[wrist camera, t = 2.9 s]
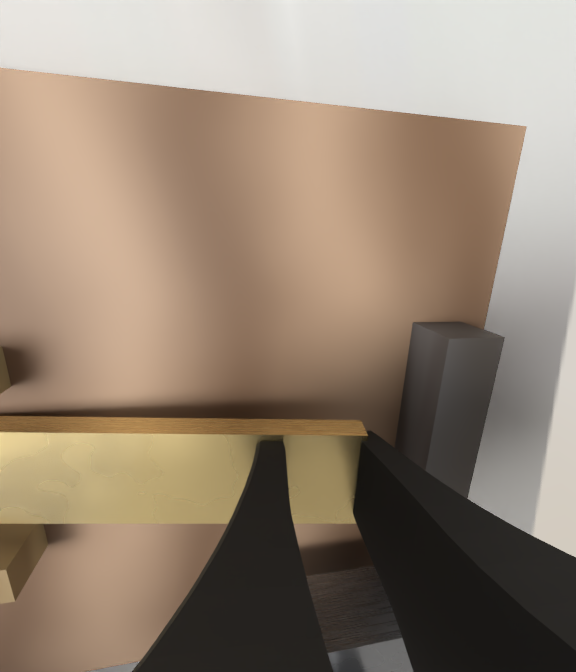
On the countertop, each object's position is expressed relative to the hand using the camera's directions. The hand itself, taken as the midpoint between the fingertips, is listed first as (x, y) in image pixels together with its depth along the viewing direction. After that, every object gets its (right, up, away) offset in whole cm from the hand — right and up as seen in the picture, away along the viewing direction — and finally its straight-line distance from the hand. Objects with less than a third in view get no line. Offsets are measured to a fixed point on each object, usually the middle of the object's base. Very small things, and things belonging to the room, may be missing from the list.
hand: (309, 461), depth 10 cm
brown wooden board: (-3, +1, +2) cm, 4 cm away
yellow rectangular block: (-4, 0, 0) cm, 4 cm away
